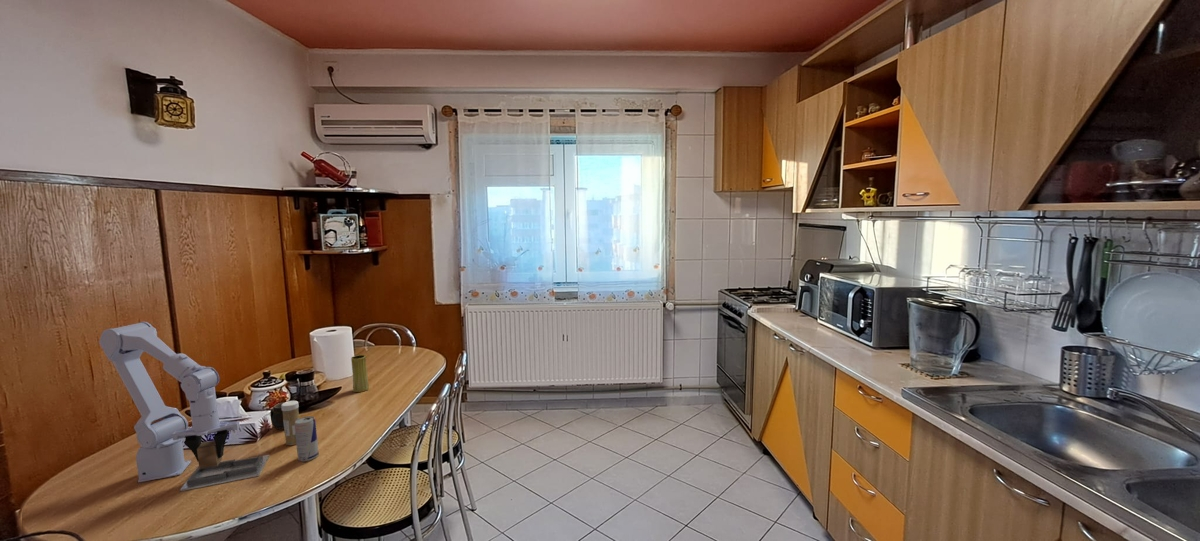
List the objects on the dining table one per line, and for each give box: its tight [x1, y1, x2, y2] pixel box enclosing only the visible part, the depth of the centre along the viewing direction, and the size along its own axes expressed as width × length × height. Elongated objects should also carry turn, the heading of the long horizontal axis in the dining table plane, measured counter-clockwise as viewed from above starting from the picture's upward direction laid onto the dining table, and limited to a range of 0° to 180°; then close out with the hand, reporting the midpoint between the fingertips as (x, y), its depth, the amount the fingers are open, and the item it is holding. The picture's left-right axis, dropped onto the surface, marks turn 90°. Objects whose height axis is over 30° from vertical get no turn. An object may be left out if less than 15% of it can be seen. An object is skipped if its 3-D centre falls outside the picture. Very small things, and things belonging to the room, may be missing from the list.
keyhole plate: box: [179, 454, 270, 492], centre depth 135 cm, size 18×12×2 cm
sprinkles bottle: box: [281, 400, 300, 446], centre depth 152 cm, size 5×5×14 cm
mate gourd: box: [271, 396, 297, 430], centre depth 164 cm, size 7×8×10 cm
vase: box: [350, 354, 370, 393], centre depth 197 cm, size 6×6×14 cm
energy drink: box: [294, 415, 319, 463], centre depth 142 cm, size 5×5×12 cm
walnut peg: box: [197, 439, 223, 469], centre depth 133 cm, size 4×4×6 cm
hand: (210, 458), depth 133 cm, fingers closed on walnut peg, 4 cm apart
